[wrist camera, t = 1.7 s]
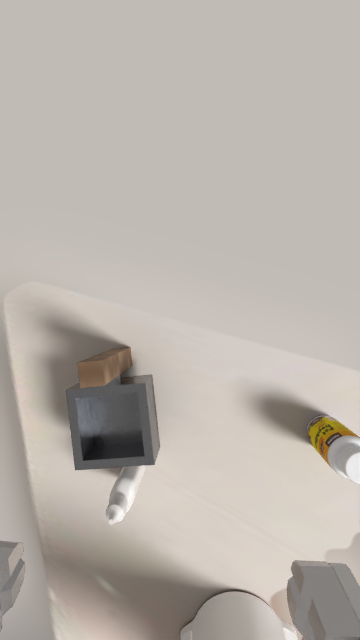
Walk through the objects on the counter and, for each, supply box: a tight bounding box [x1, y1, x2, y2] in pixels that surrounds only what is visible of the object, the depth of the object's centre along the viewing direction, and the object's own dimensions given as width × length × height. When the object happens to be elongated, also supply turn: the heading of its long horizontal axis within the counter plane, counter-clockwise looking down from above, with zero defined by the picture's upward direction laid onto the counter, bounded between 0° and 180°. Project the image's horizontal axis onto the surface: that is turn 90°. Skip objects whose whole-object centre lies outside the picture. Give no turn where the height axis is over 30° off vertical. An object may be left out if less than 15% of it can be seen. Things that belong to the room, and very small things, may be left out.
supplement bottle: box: [307, 416, 360, 484], centre depth 37 cm, size 6×6×10 cm
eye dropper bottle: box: [106, 465, 145, 525], centre depth 38 cm, size 4×6×12 cm
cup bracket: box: [66, 348, 160, 470], centre depth 38 cm, size 15×11×13 cm
